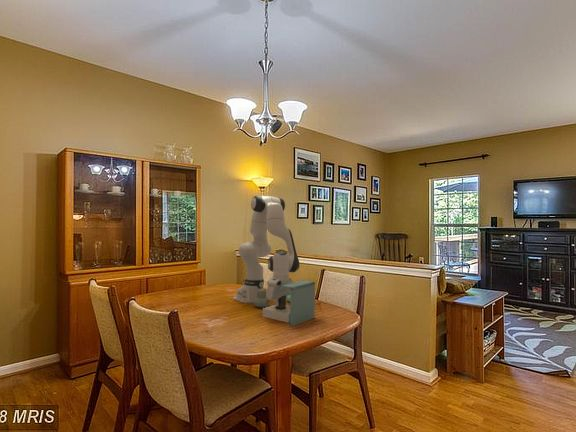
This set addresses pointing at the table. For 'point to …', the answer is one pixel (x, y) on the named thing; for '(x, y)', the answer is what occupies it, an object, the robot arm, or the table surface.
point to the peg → (282, 303)
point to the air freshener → (261, 299)
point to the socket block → (277, 313)
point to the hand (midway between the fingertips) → (280, 305)
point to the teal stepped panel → (301, 301)
